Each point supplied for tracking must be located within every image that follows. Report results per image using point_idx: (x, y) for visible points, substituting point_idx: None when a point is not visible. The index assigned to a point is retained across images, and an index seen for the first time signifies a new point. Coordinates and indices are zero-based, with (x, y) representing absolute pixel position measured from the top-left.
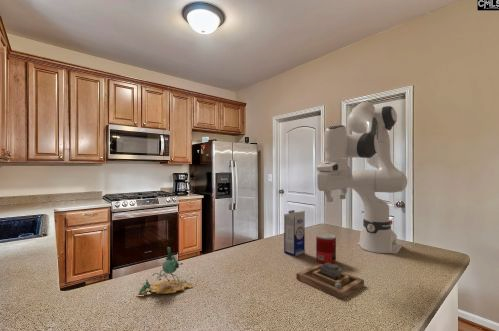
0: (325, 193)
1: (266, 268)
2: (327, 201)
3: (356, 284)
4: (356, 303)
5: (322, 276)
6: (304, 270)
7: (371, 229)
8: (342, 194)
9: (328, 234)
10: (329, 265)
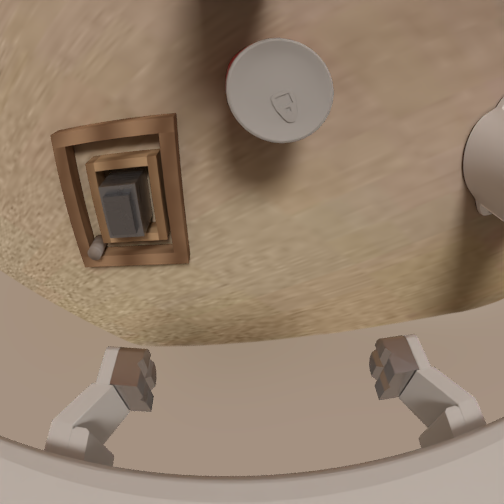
0: (59, 422)
1: (33, 25)
2: (110, 350)
3: (149, 263)
4: (106, 280)
5: (93, 199)
6: (83, 131)
7: None
8: (409, 384)
9: (322, 83)
10: (112, 216)
